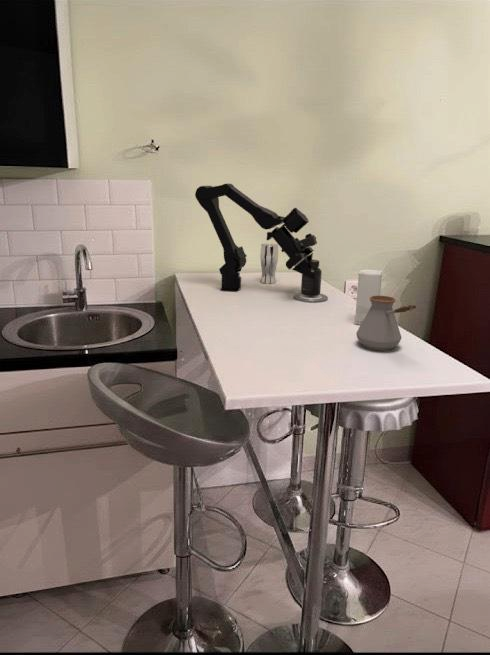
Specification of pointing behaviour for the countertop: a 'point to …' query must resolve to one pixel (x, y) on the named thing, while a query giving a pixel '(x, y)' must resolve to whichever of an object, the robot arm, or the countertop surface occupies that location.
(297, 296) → the coaster
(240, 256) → the robot arm
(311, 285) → the supplement bottle
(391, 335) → the coffee pot
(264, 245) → the beer glass
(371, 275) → the skincare box
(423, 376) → the countertop surface
